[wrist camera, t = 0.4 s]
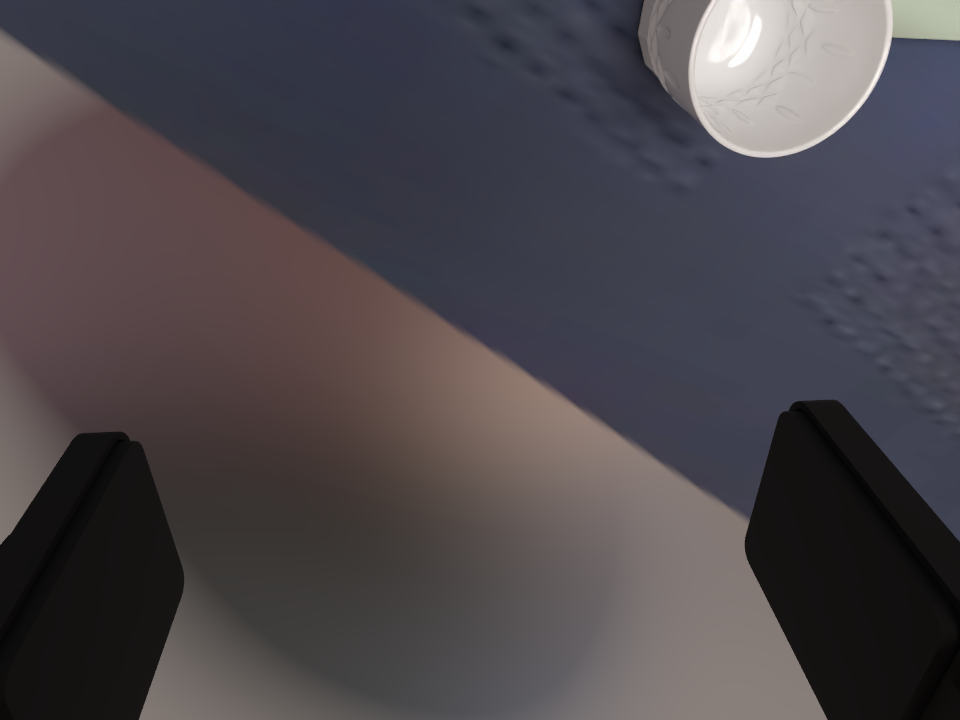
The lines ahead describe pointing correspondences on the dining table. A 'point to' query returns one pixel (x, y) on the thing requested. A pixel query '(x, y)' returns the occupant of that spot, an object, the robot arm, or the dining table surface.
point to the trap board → (926, 19)
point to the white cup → (767, 65)
